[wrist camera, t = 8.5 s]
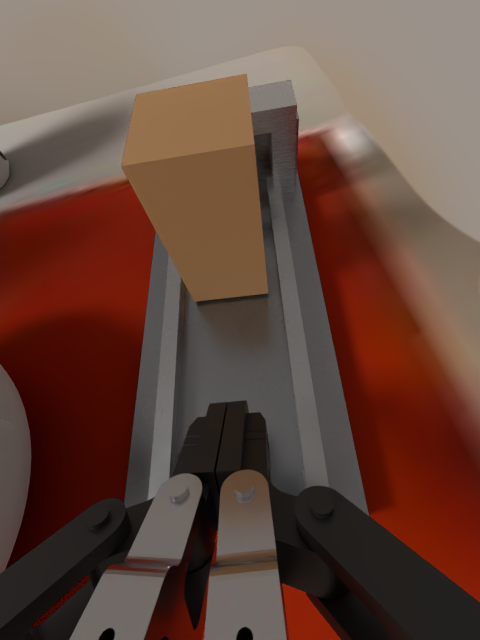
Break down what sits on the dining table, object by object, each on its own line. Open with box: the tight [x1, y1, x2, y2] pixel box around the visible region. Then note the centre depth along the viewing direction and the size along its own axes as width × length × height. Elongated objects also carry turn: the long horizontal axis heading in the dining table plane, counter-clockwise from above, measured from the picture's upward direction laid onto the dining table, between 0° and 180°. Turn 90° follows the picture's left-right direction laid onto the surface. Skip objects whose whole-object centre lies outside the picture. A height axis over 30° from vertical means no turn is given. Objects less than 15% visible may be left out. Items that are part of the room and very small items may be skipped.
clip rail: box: [124, 80, 369, 516], centre depth 18 cm, size 26×12×8 cm, turn 3°
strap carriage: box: [121, 74, 268, 302], centre depth 18 cm, size 12×5×10 cm, turn 3°
